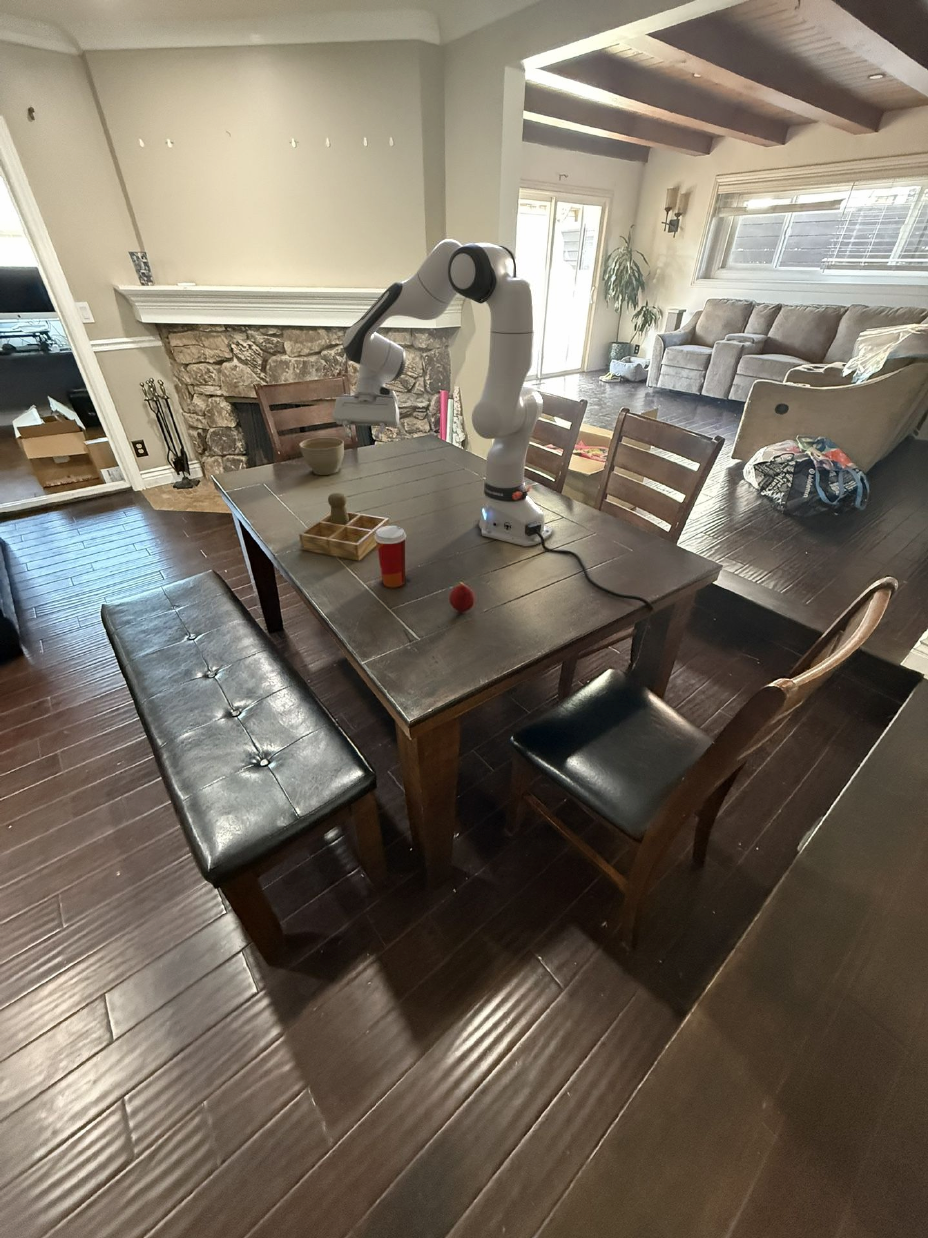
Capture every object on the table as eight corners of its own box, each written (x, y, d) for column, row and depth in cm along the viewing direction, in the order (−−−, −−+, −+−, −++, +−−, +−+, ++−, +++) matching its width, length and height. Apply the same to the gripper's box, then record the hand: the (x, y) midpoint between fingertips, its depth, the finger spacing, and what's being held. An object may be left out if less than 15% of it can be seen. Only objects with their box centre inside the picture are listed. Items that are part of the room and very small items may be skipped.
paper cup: (394, 571, 135) (390, 521, 127) (415, 580, 131) (412, 530, 123) (372, 582, 130) (366, 532, 122) (393, 593, 126) (389, 541, 118)
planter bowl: (355, 469, 199) (352, 440, 193) (326, 481, 188) (321, 451, 182) (325, 461, 206) (321, 434, 200) (295, 473, 195) (290, 444, 189)
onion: (473, 605, 122) (474, 576, 117) (475, 618, 117) (475, 589, 113) (449, 605, 122) (449, 576, 117) (449, 619, 117) (449, 589, 112)
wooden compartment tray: (389, 533, 153) (388, 518, 151) (359, 560, 139) (357, 544, 137) (336, 523, 159) (334, 509, 156) (301, 549, 144) (298, 534, 142)
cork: (349, 533, 150) (344, 498, 144) (329, 533, 151) (323, 498, 144) (353, 525, 155) (349, 490, 149) (333, 524, 155) (328, 490, 149)
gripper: (333, 387, 155) (325, 429, 153) (398, 390, 152) (391, 433, 150) (340, 400, 161) (333, 440, 159) (403, 403, 158) (397, 444, 156)
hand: (362, 437), depth 154 cm, fingers open, 8 cm apart
